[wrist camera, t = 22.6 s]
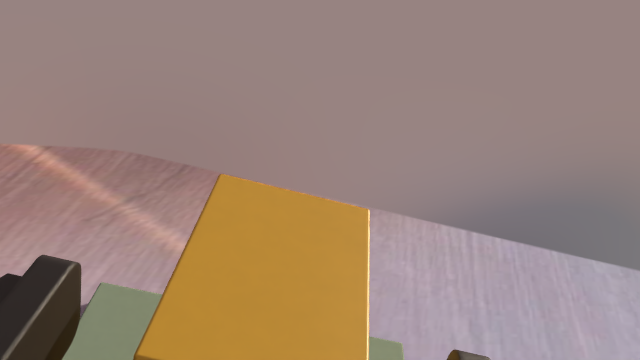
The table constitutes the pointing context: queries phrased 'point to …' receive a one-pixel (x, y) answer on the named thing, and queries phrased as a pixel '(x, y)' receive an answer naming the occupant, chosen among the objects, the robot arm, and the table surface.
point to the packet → (266, 280)
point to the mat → (132, 320)
